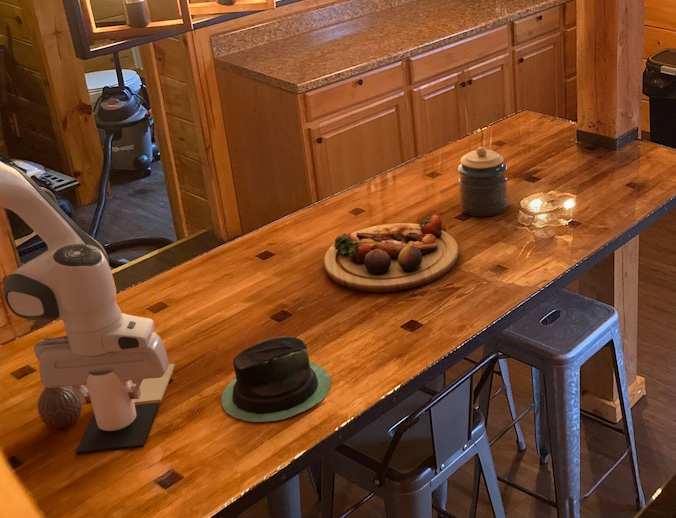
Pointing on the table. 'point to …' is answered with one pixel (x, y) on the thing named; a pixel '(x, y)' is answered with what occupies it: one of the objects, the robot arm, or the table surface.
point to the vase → (59, 407)
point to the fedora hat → (274, 381)
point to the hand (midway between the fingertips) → (112, 399)
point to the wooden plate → (391, 256)
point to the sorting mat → (138, 428)
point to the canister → (483, 183)
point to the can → (110, 401)
